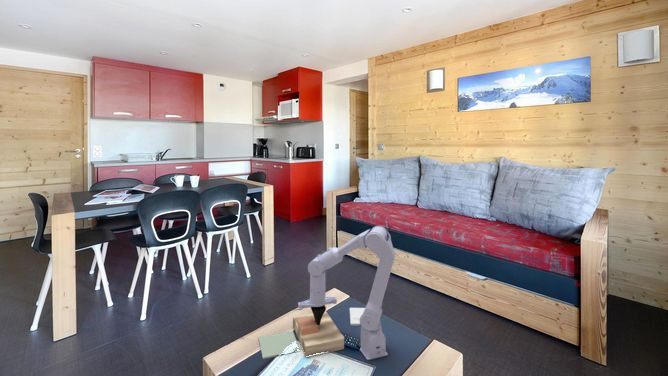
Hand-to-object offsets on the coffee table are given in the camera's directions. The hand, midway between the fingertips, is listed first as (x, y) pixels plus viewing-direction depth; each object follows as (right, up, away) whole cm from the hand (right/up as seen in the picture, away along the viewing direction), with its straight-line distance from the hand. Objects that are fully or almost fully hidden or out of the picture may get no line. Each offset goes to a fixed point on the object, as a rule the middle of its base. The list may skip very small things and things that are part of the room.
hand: (317, 323), depth 117 cm
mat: (-14, -6, -5) cm, 16 cm away
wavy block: (0, -5, 0) cm, 5 cm away
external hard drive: (+17, -4, +15) cm, 23 cm away
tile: (-4, 0, -1) cm, 4 cm away
